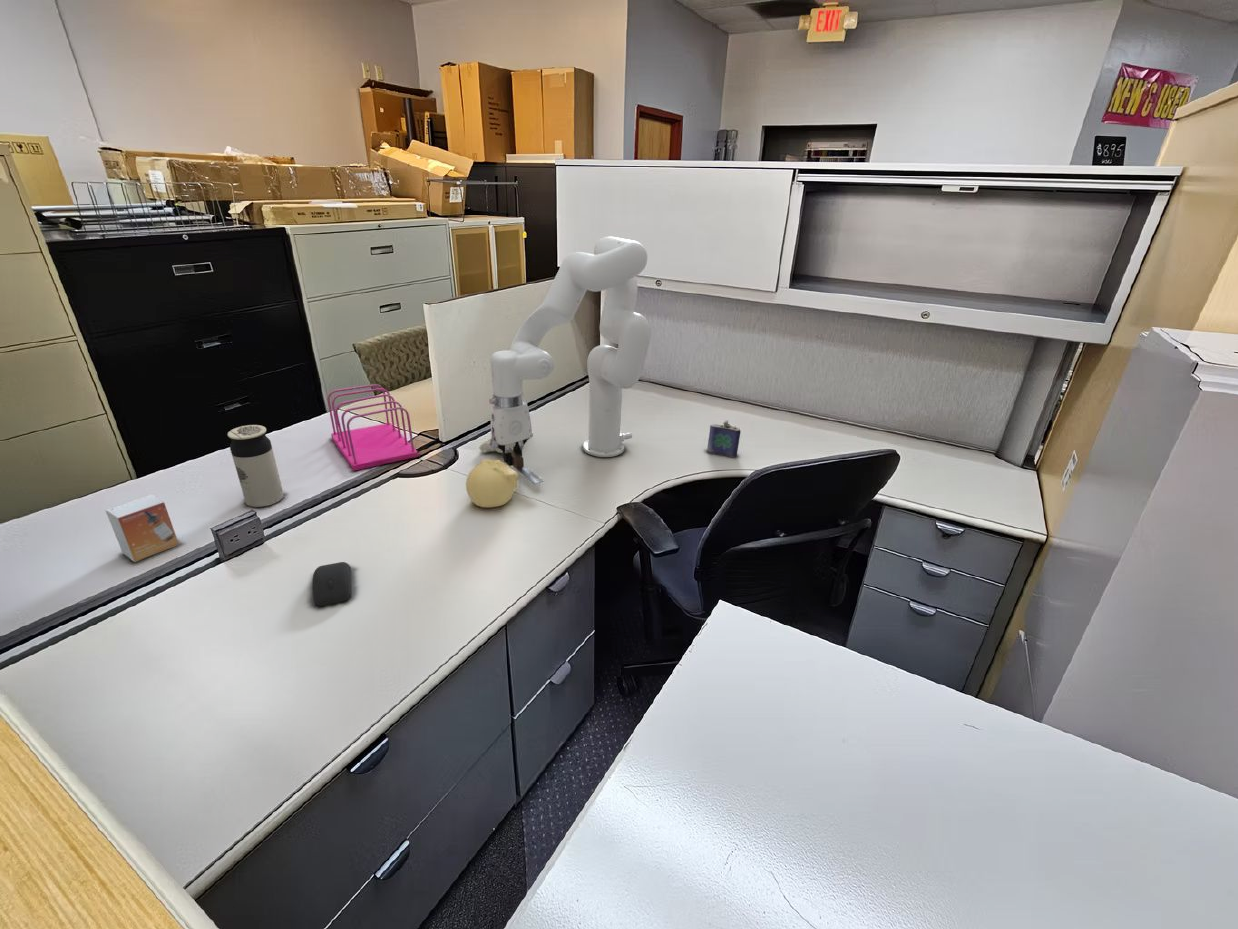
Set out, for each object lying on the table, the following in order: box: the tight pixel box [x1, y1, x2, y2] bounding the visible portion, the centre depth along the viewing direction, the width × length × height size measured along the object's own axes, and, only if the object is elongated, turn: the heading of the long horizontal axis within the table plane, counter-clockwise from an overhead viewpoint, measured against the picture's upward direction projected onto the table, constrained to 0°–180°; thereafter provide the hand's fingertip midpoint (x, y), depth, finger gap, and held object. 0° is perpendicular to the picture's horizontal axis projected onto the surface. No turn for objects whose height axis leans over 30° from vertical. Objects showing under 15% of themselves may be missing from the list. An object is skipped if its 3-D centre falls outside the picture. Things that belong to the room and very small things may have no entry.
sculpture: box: [465, 458, 519, 508], centre depth 137 cm, size 11×12×11 cm
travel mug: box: [227, 424, 285, 508], centre depth 131 cm, size 8×8×18 cm
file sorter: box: [326, 383, 419, 471], centre depth 159 cm, size 17×25×16 cm
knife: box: [501, 447, 545, 485], centre depth 148 cm, size 18×3×3 cm, turn 38°
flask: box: [706, 420, 741, 458], centre depth 169 cm, size 9×3×11 cm, turn 71°
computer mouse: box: [312, 561, 353, 607], centre depth 107 cm, size 6×11×4 cm, turn 24°
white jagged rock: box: [478, 438, 515, 454], centre depth 165 cm, size 15×7×15 cm
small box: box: [104, 493, 180, 563], centre depth 113 cm, size 8×6×10 cm
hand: (513, 462), depth 152 cm, fingers closed on knife, 2 cm apart
